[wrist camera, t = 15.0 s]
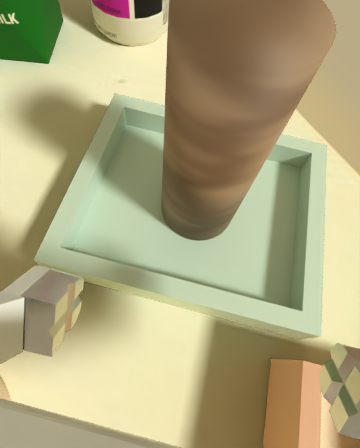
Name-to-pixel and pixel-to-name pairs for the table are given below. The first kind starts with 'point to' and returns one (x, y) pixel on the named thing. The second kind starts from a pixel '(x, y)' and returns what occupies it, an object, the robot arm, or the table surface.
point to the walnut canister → (231, 99)
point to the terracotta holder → (293, 405)
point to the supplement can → (131, 20)
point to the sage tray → (191, 249)
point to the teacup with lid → (4, 391)
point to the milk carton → (29, 29)
